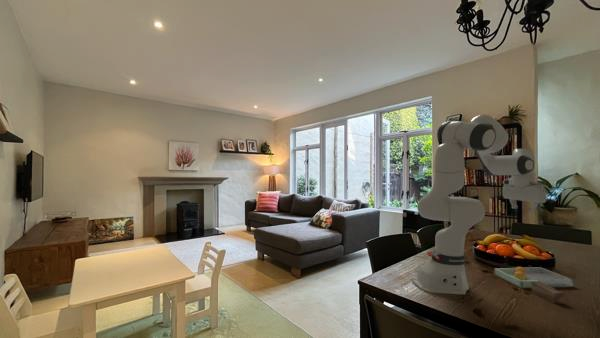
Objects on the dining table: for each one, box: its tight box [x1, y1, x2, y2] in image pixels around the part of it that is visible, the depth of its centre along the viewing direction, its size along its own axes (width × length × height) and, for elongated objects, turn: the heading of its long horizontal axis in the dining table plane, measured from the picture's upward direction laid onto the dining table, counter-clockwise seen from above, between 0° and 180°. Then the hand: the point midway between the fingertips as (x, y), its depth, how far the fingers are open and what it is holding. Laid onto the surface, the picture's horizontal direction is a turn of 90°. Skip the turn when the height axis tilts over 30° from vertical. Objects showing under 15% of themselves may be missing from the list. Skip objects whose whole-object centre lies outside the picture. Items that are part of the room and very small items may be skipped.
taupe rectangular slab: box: [531, 282, 565, 305], centre depth 103 cm, size 4×10×4 cm, turn 177°
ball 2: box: [514, 271, 526, 280], centre depth 117 cm, size 4×4×4 cm
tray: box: [493, 267, 539, 289], centre depth 118 cm, size 8×14×3 cm, turn 3°
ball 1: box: [515, 266, 526, 275], centre depth 121 cm, size 4×4×4 cm
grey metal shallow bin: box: [510, 266, 574, 288], centre depth 119 cm, size 15×14×3 cm
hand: (523, 209), depth 127 cm, fingers open, 8 cm apart
